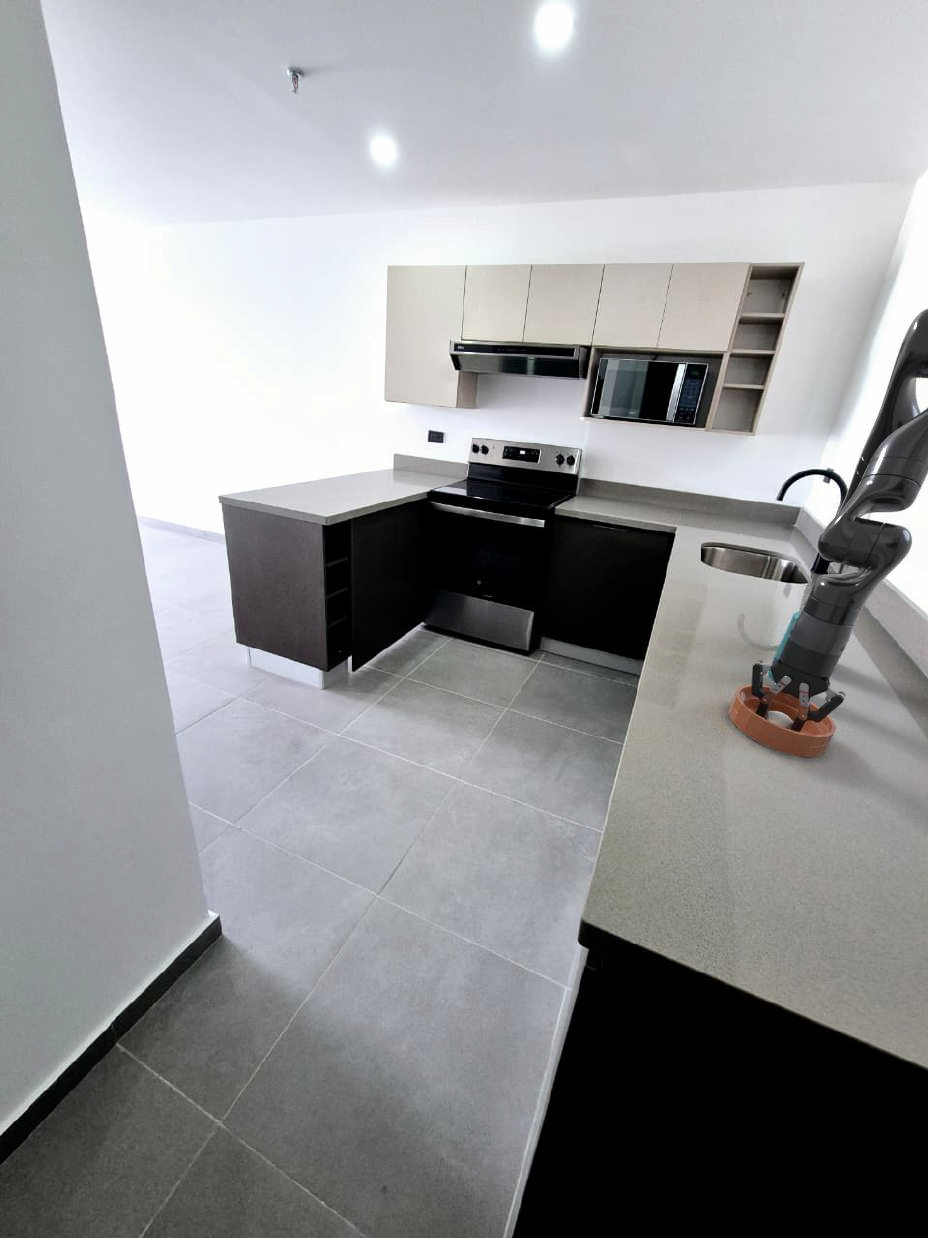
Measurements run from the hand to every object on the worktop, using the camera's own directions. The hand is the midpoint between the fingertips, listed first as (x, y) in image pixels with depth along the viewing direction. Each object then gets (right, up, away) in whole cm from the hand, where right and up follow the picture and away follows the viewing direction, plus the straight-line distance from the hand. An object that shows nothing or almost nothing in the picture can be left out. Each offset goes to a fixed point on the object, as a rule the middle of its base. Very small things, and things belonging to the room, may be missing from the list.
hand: (775, 726), depth 86 cm
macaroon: (0, 0, 0) cm, 0 cm away
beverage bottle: (+11, +5, +16) cm, 20 cm away
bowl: (0, -1, 0) cm, 1 cm away
